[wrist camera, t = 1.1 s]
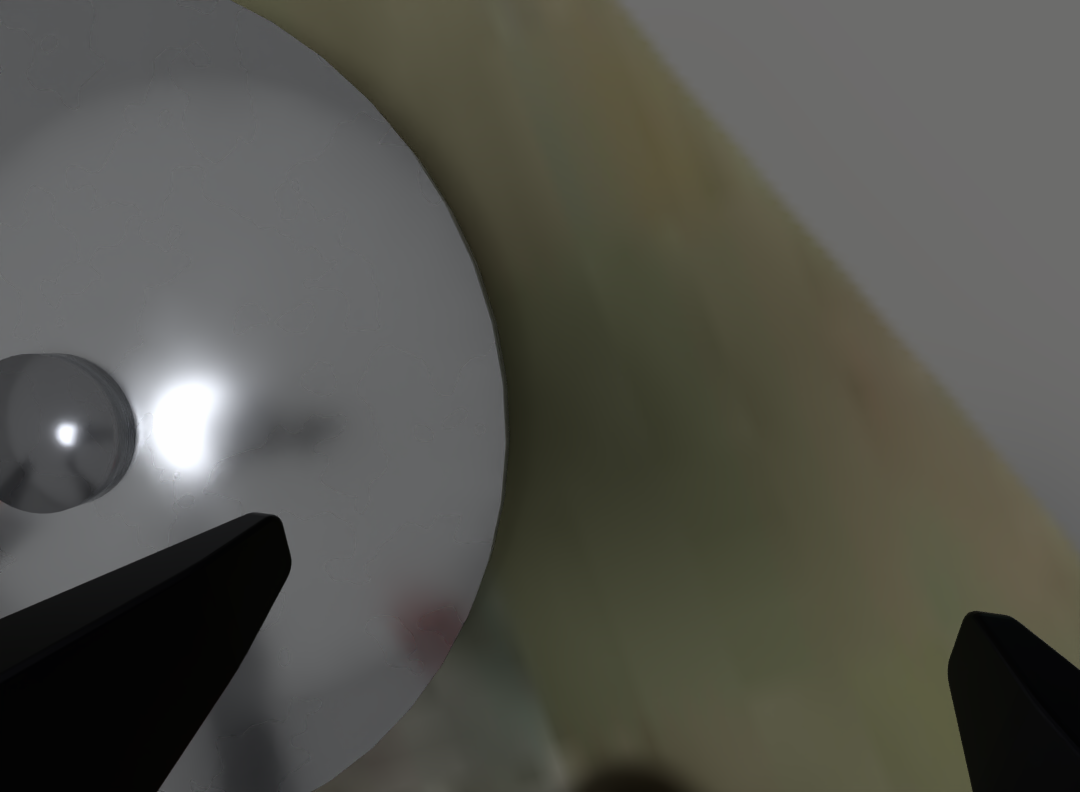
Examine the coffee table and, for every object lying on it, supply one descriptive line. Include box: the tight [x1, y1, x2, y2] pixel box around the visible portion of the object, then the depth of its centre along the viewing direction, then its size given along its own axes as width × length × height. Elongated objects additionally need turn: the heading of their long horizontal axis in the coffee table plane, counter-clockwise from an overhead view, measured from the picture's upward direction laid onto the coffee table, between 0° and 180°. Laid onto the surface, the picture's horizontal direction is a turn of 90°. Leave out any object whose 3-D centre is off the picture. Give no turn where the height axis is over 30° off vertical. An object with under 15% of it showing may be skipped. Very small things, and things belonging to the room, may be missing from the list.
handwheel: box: [0, 0, 510, 792], centre depth 18 cm, size 29×29×7 cm
